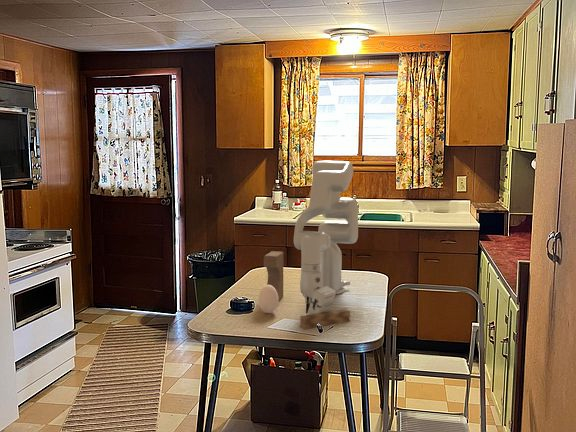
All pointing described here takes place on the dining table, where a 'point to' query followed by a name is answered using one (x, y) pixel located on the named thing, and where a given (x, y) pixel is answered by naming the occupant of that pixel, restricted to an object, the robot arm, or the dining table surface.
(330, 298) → the ink box
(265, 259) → the decorative block
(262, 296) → the egg
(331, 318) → the board
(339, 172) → the robot arm
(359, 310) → the dining table surface
